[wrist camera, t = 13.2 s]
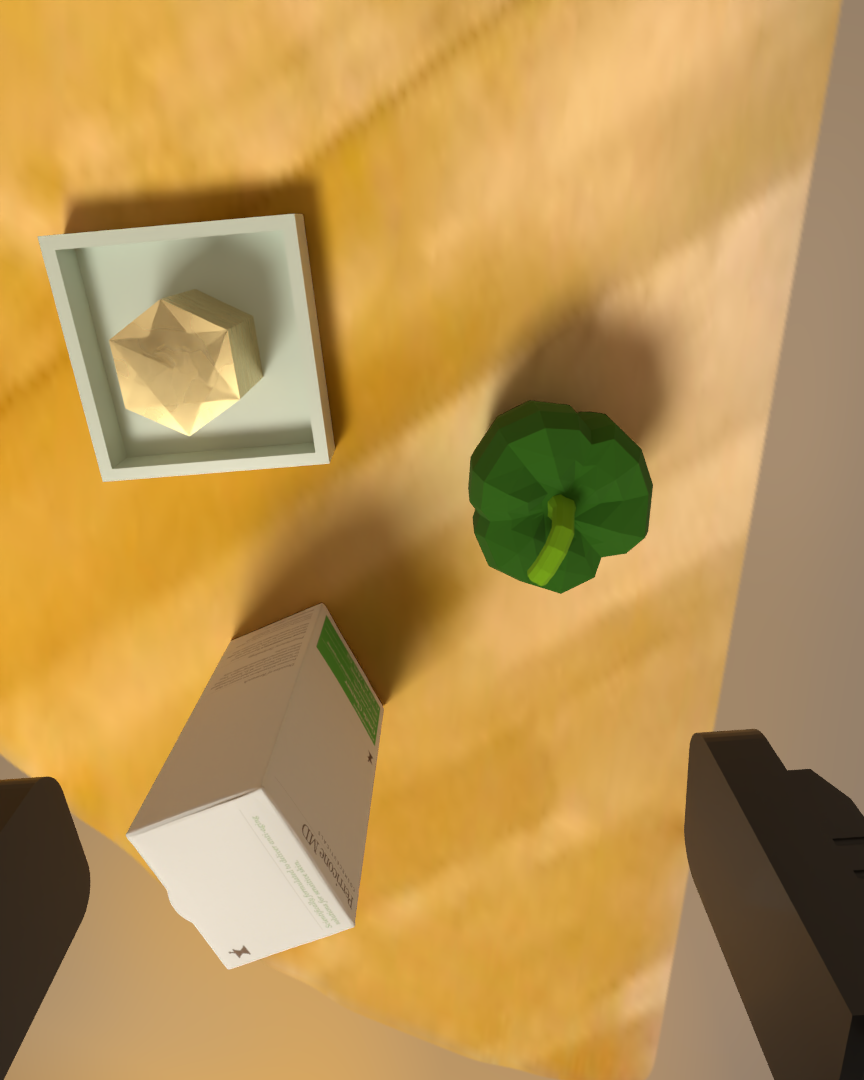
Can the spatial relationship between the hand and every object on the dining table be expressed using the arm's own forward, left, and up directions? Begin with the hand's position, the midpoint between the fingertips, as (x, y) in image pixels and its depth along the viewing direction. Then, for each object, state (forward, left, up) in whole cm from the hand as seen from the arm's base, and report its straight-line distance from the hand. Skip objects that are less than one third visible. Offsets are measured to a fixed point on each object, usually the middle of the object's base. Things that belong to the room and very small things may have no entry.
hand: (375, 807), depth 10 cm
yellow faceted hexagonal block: (-2, -10, -30) cm, 31 cm away
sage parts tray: (-2, -10, -30) cm, 32 cm away
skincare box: (+17, -8, -30) cm, 36 cm away
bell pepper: (+5, +6, -30) cm, 31 cm away
